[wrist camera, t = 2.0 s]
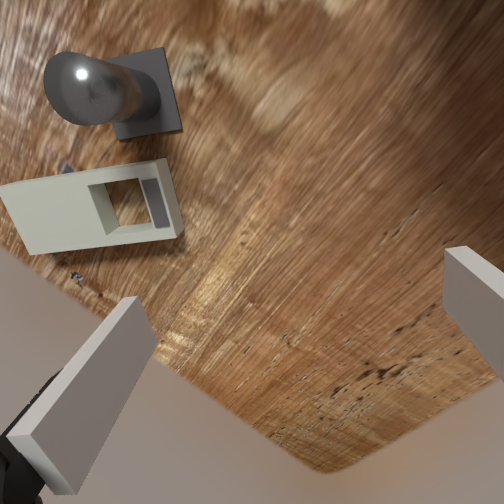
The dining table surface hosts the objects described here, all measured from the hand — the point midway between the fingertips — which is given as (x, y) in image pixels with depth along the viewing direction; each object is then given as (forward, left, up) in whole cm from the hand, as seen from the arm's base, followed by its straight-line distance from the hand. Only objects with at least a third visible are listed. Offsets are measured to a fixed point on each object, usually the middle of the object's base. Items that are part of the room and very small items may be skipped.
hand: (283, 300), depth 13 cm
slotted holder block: (-1, -21, -21) cm, 30 cm away
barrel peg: (-11, -13, -21) cm, 27 cm away
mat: (-11, -13, -21) cm, 27 cm away
